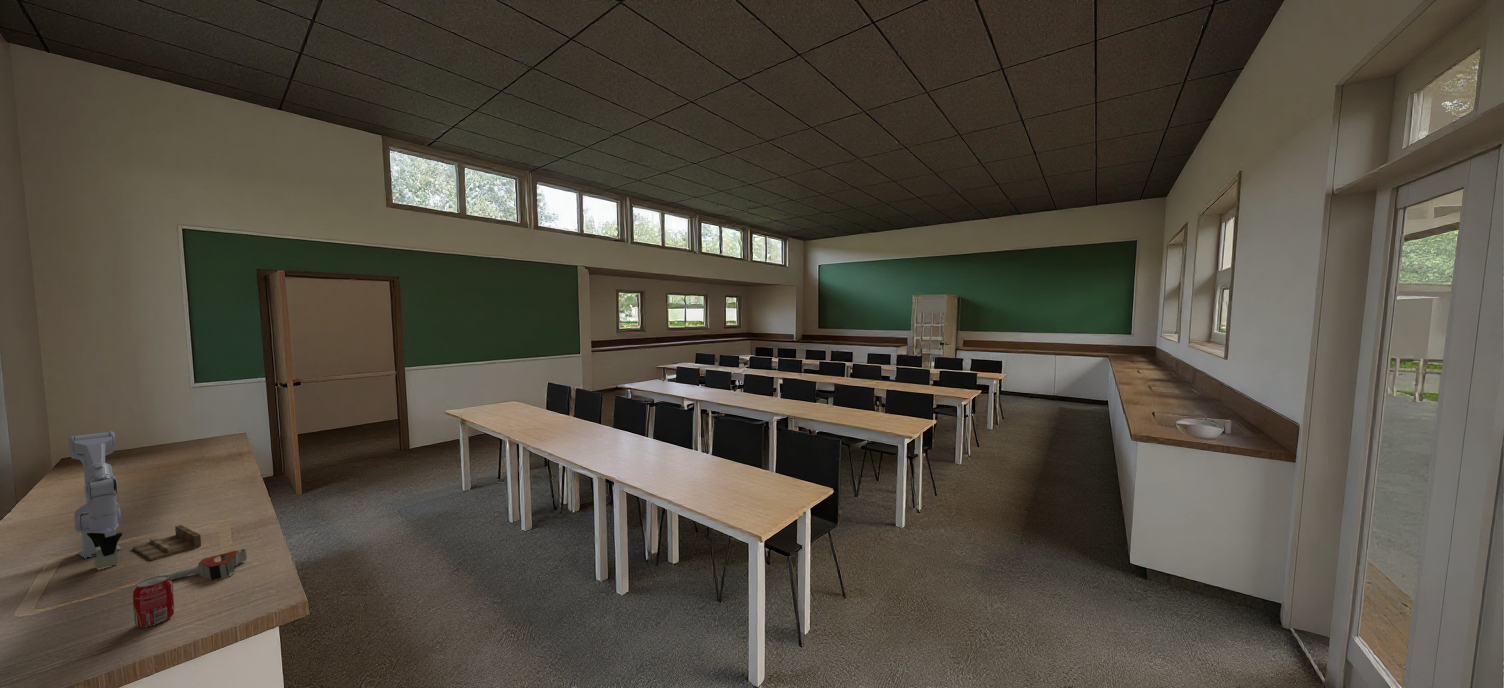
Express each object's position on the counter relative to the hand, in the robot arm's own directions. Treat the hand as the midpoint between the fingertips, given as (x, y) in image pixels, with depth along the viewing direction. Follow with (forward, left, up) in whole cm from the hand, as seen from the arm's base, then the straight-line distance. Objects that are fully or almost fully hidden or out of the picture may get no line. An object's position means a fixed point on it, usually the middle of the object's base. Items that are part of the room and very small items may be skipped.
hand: (105, 552), depth 163 cm
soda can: (+63, -3, -5) cm, 63 cm away
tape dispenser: (+38, +14, -6) cm, 41 cm away
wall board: (-2, +14, -5) cm, 15 cm away
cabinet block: (0, 0, -5) cm, 5 cm away
